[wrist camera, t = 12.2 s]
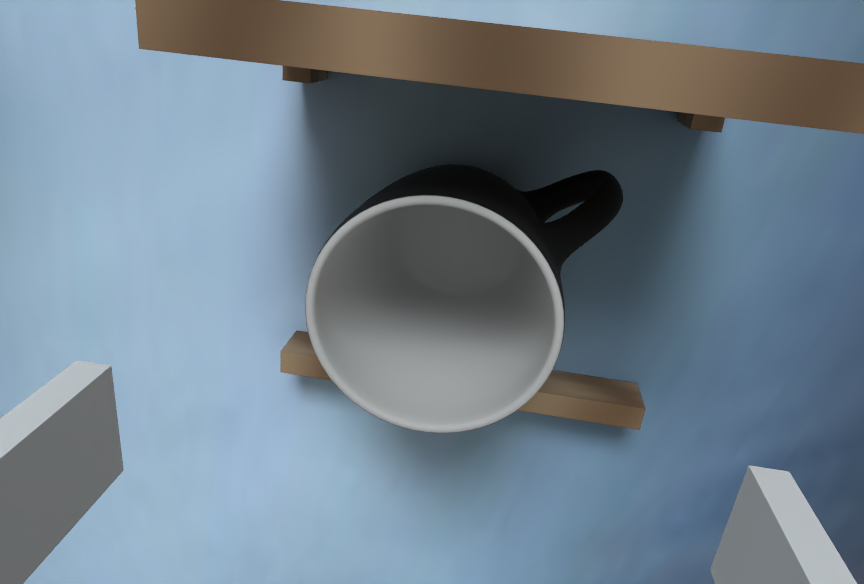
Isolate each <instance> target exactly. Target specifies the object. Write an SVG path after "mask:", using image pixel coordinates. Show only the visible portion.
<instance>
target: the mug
mask: <svg viewBox="0 0 864 584" xmlns="http://www.w3.org/2000/svg"><path fill="white" fill-rule="evenodd" d="M584 201H585V202H584ZM622 201H623V193H622V189H621V186H620V184H619V182H618V181H617V180H616V178H615V177H614V176H613V175H611V174H610V173H608V172H606V171H602V170H594V171H588V172H584V173H580V174H577V175H574V176H571V177H568V178H566V179H563V180H560V181H558V182H556V183H553V184H551V185H548V186H546V187H543V188H540V189H537V190H533V191H526V192H523V191H519V190H517V189H515V188H514V187H513V186H511V185H510V184H509V183H508V182H506V181H504V180H503V179H501V178H500V177H498V176H496V175H494V174H492V173H490V172H488V171H485V170H482V169H479V168H476V167H471V166H464V165H442V166H436V167H431V168H427V169H424V170H420V171H418V172H415V173H413V174H410V175H408V176H405V177H403V178H402V179H400V180H398V181H396V182H394V183H392V184H391V185H389V186H387V187H386V188H384V189H383V190H381V191H380V192H378V193H377V194H375V195H374V196H372V197H371V198H370V199H368V200H367V201H366V202H365V203H364V204H362V205H361V206H360V207H359V208H357V209H356V210H355V211H354V212H353V213H352V214H351V215H349V216H348V217H347V218H346V219H345V220H344V221H343V223H342V224H341V225H340V226H339V227H338V228H337V229H336V230H335V231H334V233H333V234H332V235H331V236H330V238H329V239H328V240H327V242H326V243H325V245H324V246H323V248H322V249H321V251H320V253H319V255H318V257H317V259H316V261H315V263H314V265H313V268H312V271H311V274H310V277H309V281H308V285H307V291H306V300H305V313H306V323H307V328H308V333H309V337H310V340H311V343H312V346H313V349H314V351H315V353H316V356H317V358H318V360H319V361H320V363H321V365H322V367H323V368H324V370H325V371H326V373H327V375H328V376H329V377H330V378H331V380H332V381H333V382H334V384H335V385H336V386H337V387H338V388H339V389H340V390H341V391H342V392H343V393H344V394H345V395H346V396H347V397H348V398H350V399H351V400H352V401H353V402H354V403H356V404H357V405H358V406H360V407H361V408H363V409H364V410H366V411H367V412H369V413H371V414H372V415H374V416H376V417H378V418H380V419H382V420H384V421H387V422H389V423H392V424H394V425H397V426H401V427H404V428H408V429H412V430H417V431H423V432H433V433H453V432H463V431H468V430H473V429H477V428H481V427H484V426H487V425H490V424H492V423H495V422H497V421H499V420H501V419H503V418H505V417H507V416H509V415H510V414H512V413H514V412H515V411H517V410H518V409H519V408H521V407H522V406H523V405H525V404H526V403H527V402H528V401H529V400H530V399H531V398H532V397H533V396H534V395H535V394H536V393H537V392H538V391H539V390H540V389H541V387H542V386H543V384H544V383H545V382H546V380H547V379H548V377H549V375H550V374H551V372H552V370H553V368H554V366H555V363H556V361H557V359H558V356H559V352H560V349H561V346H562V341H563V336H564V327H565V308H564V297H563V290H562V284H561V278H560V271H561V266H562V264H563V262H564V261H565V260H566V259H567V258H568V257H569V256H570V255H571V254H572V253H573V252H574V251H575V250H577V249H578V248H579V247H580V246H582V245H583V244H584V243H586V242H587V241H588V240H590V239H591V238H592V237H594V236H595V235H596V234H597V233H599V232H600V231H601V230H602V229H603V228H605V227H606V226H607V225H608V224H609V223H610V222H611V221H612V220H613V218H614V217H615V216H616V215H617V213H618V212H619V210H620V208H621V205H622ZM581 202H583V203H582V204H581V205H580V206H578V207H577V208H576V209H574V210H573V211H571V212H570V213H568V214H567V215H565V216H563V217H562V218H560V219H557V220H555V221H552V222H548V223H544V222H545V221H546V220H547V219H548V218H550V217H551V216H552V215H554V214H555V213H557V212H558V211H560V210H562V209H565V208H567V207H569V206H572V205H575V204H578V203H581Z"/></svg>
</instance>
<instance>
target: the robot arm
mask: <svg viewBox="0 0 864 584" xmlns="http://www.w3.org/2000/svg"><path fill="white" fill-rule="evenodd" d="M122 471H123V461H122V453H121V445H120V436H119V428H118V419H117V411H116V402H115V394H114V385H113V377H112V368H111V366H110V365H104V364H97V363H91V362H85V361H78V360H77V361H75V362H74V363H73V364H71V365H70V366H69V367H67V368H66V369H65V370H63V371H62V372H61V373H60V374H58V375H57V376H56V377H54V378H53V379H52V380H50V381H49V382H48V383H46V384H45V385H44V386H42V387H41V388H40V389H38V390H37V391H36V392H35V393H33V394H32V395H31V396H29V397H28V398H27V399H25V400H24V401H23V402H21V403H20V404H19V405H17V406H16V407H15V408H13V409H12V410H11V411H10V412H8V413H7V414H6V415H4V416H3V417H2V418H0V584H23V583H24V582H25V581H26V580H27V579H28V577H29V576H30V575H31V574H32V573H33V572H34V571H35V570H36V568H37V567H38V566H39V565H40V564H41V563H42V562H43V561H44V559H45V558H46V557H47V556H48V555H49V554H50V553H51V552H52V550H53V549H54V548H55V547H56V546H57V545H58V544H59V542H60V541H61V540H62V539H63V538H64V537H65V536H66V535H67V533H68V532H69V531H70V530H71V529H72V528H73V527H74V526H75V524H76V523H77V522H78V521H79V520H80V519H81V518H82V517H83V515H84V514H85V513H86V512H87V511H88V510H89V509H90V508H91V506H92V505H93V504H94V503H95V502H96V501H97V500H98V498H99V497H100V496H101V495H102V494H103V493H104V492H105V491H106V489H107V488H108V487H109V486H110V485H111V484H112V483H113V482H114V480H115V479H116V478H117V477H118V476H119V475H120V474H121V473H122ZM710 570H711V573H712V576H713V579H714V582H715V584H857V583H856V581H855V580H854V578H853V577H852V575H851V573H850V572H849V570H848V568H847V567H846V565H845V563H844V562H843V560H842V558H841V557H840V555H839V553H838V552H837V550H836V548H835V547H834V545H833V543H832V542H831V540H830V538H829V537H828V535H827V534H826V532H825V530H824V529H823V527H822V525H821V524H820V522H819V520H818V519H817V517H816V515H815V514H814V512H813V510H812V509H811V507H810V505H809V504H808V502H807V500H806V499H805V497H804V496H803V494H802V492H801V491H800V489H799V487H798V486H797V484H796V482H795V481H794V479H793V477H792V476H791V474H790V472H787V471H781V470H775V469H768V468H762V467H756V466H748V469H747V472H746V474H745V477H744V480H743V482H742V485H741V488H740V490H739V493H738V496H737V499H736V501H735V504H734V507H733V509H732V512H731V515H730V518H729V520H728V523H727V526H726V528H725V531H724V534H723V536H722V539H721V542H720V545H719V547H718V550H717V553H716V555H715V558H714V561H713V564H712V566H711V569H710Z"/></svg>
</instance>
